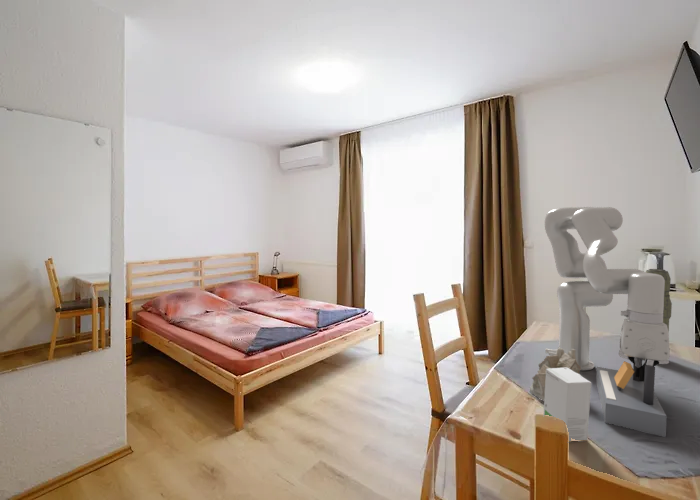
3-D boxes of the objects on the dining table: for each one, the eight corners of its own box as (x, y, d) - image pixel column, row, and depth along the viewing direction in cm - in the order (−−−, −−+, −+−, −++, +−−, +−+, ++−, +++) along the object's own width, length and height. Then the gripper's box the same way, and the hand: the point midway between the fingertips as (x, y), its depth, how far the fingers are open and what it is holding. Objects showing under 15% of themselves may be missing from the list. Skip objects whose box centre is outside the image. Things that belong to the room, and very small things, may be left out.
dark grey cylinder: (633, 380, 100) (634, 348, 99) (632, 377, 102) (633, 346, 101) (642, 382, 99) (643, 349, 98) (640, 379, 100) (642, 347, 100)
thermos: (667, 357, 129) (671, 268, 126) (670, 367, 120) (675, 272, 117) (637, 352, 135) (640, 267, 132) (638, 361, 126) (642, 270, 123)
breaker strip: (605, 422, 89) (605, 402, 88) (596, 382, 110) (596, 366, 110) (665, 437, 82) (666, 415, 82) (643, 391, 104) (644, 374, 103)
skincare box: (542, 423, 89) (543, 367, 88) (565, 421, 89) (566, 366, 88) (565, 444, 81) (566, 382, 79) (590, 441, 81) (592, 380, 80)
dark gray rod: (644, 403, 87) (645, 367, 87) (642, 400, 89) (644, 364, 88) (654, 405, 86) (655, 368, 86) (652, 402, 88) (654, 365, 87)
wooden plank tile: (615, 388, 95) (627, 368, 93) (612, 379, 100) (624, 360, 98) (622, 391, 94) (634, 372, 92) (618, 382, 99) (630, 363, 97)
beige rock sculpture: (561, 377, 114) (560, 336, 113) (594, 404, 98) (593, 356, 97) (515, 380, 115) (514, 339, 114) (540, 408, 99) (539, 360, 97)
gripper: (612, 317, 93) (610, 379, 95) (685, 324, 85) (682, 392, 87) (609, 310, 100) (607, 369, 101) (676, 317, 92) (673, 380, 93)
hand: (641, 379), depth 94 cm, fingers closed
